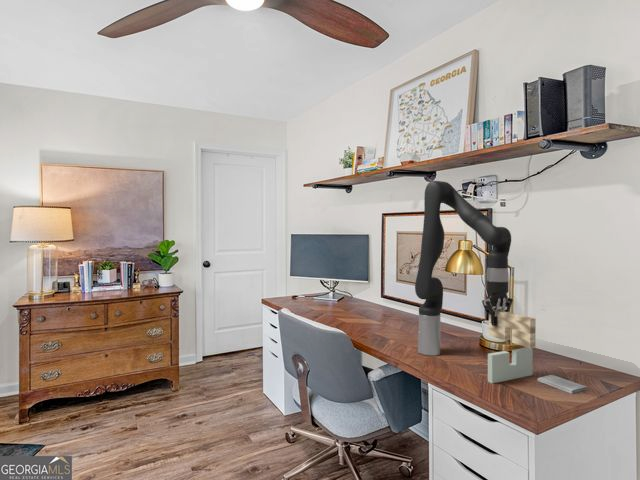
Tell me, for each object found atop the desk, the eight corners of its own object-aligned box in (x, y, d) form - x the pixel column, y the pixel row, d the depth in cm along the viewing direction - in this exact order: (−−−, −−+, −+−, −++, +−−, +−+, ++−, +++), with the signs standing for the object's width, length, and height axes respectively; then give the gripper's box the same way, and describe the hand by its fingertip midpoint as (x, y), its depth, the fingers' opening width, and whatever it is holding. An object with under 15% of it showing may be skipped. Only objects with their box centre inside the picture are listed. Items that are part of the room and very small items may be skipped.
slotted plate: (492, 383, 138) (492, 355, 138) (487, 381, 140) (487, 353, 140) (532, 375, 146) (532, 348, 146) (527, 373, 148) (527, 347, 147)
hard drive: (587, 386, 133) (552, 374, 144) (571, 390, 129) (537, 377, 141) (587, 391, 133) (552, 378, 144) (571, 395, 129) (537, 382, 141)
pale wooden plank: (535, 347, 135) (535, 318, 134) (530, 348, 134) (530, 319, 134) (493, 334, 151) (493, 309, 151) (488, 335, 150) (488, 309, 150)
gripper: (503, 277, 154) (503, 321, 154) (475, 279, 148) (475, 325, 149) (519, 279, 147) (519, 325, 147) (491, 281, 141) (491, 329, 142)
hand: (497, 325), depth 148 cm, fingers closed on pale wooden plank, 2 cm apart
